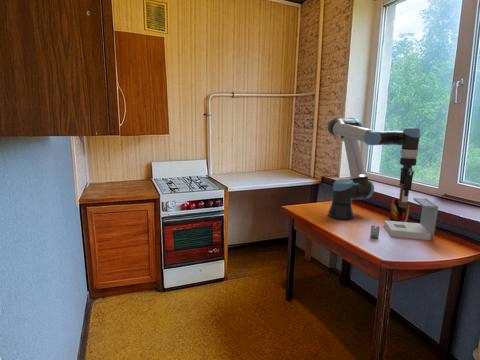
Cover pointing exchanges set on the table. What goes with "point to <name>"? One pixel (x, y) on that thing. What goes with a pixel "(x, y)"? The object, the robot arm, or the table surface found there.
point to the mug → (399, 212)
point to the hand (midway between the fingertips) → (403, 200)
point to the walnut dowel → (401, 204)
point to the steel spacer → (374, 232)
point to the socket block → (416, 229)
